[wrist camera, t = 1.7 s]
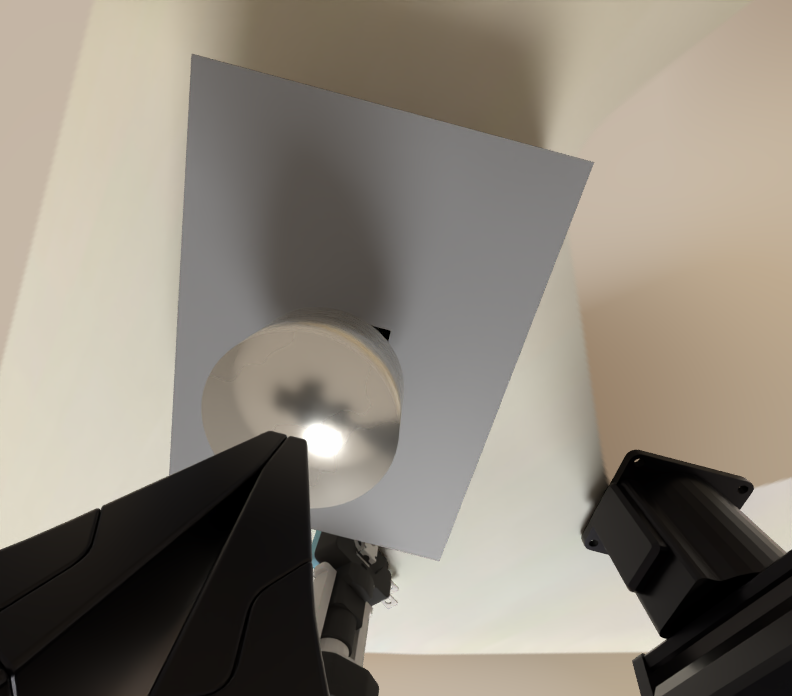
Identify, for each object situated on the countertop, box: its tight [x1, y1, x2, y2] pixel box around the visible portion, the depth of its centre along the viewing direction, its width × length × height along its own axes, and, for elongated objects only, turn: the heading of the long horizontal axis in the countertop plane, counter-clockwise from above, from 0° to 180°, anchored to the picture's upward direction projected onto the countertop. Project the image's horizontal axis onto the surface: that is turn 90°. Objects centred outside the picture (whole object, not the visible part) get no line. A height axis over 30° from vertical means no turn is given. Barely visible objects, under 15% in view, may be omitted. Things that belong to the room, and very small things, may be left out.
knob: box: [201, 307, 404, 508], centre depth 12 cm, size 5×5×8 cm
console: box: [169, 54, 594, 561], centre depth 16 cm, size 12×16×5 cm
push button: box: [312, 530, 399, 696], centre depth 18 cm, size 7×5×10 cm
